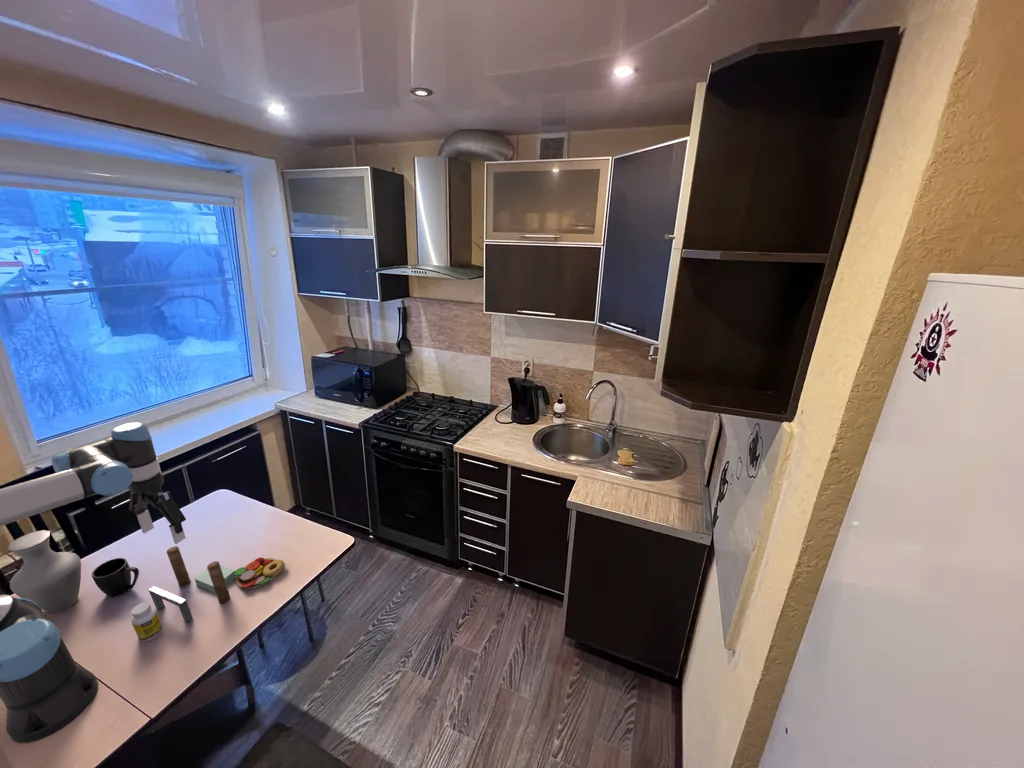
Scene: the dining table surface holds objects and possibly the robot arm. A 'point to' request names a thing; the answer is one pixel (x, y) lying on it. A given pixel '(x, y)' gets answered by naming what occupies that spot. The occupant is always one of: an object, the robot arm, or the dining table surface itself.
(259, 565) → the toy food set
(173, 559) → the post far
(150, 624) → the supplement bottle
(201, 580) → the stand
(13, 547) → the vase
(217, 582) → the post near
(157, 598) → the rail hurdle
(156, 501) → the robot arm
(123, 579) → the mug
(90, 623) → the dining table surface
